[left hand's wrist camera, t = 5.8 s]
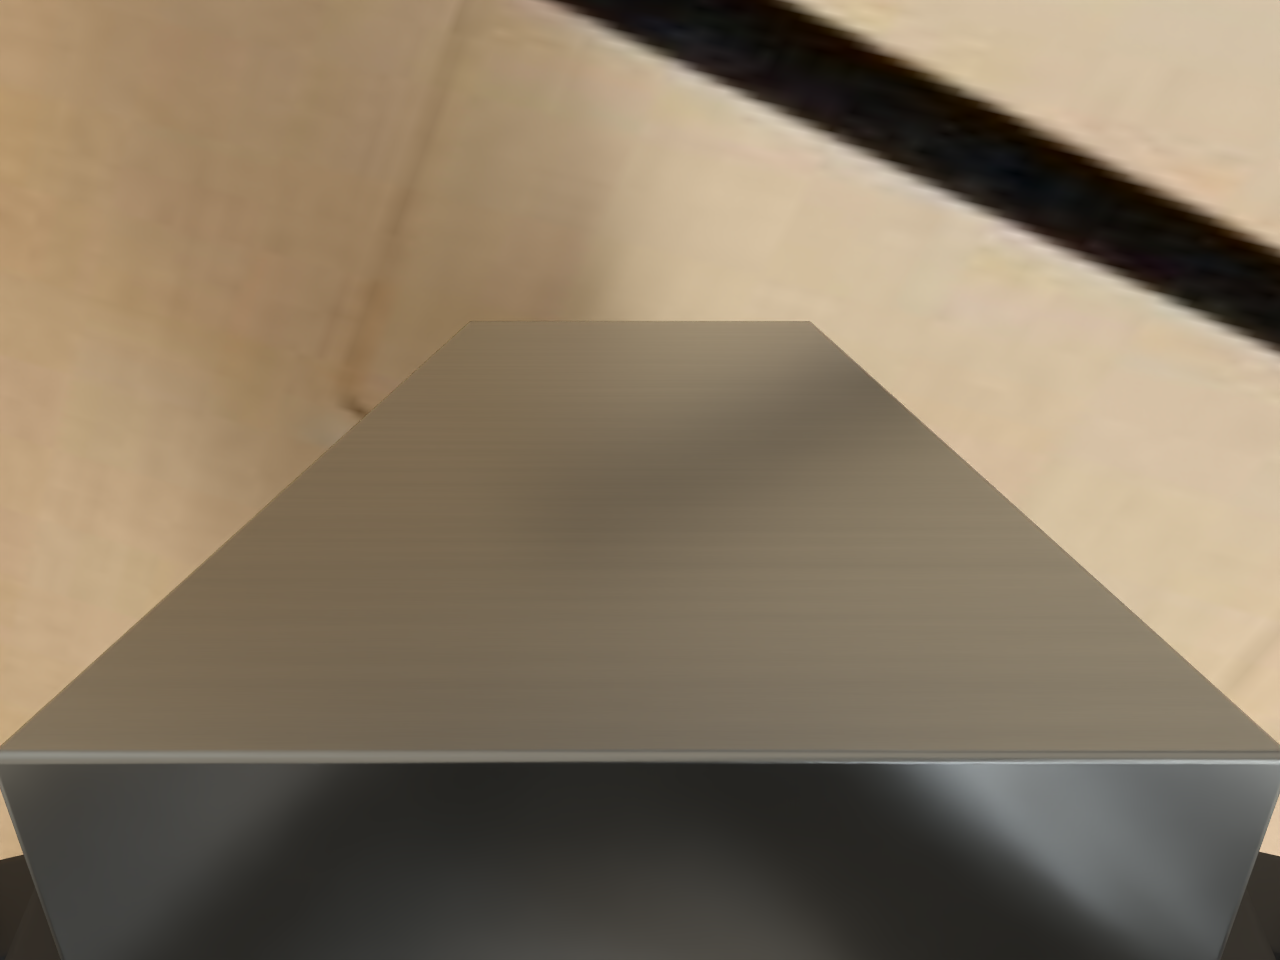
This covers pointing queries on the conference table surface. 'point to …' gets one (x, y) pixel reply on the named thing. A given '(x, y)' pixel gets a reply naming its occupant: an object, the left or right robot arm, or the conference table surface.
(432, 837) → the box
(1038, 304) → the conference table surface
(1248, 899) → the left robot arm
